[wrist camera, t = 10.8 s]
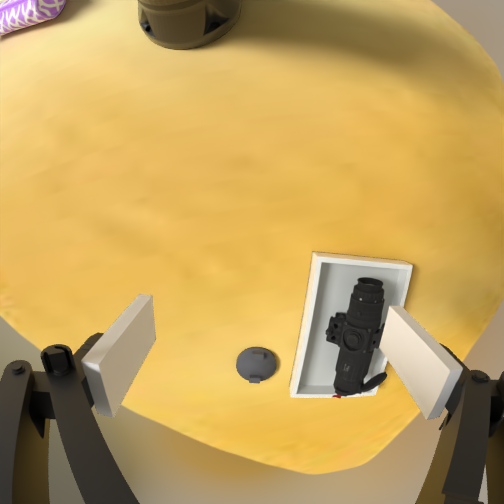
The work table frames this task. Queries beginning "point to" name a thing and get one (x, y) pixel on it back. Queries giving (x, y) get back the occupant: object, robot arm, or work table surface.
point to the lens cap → (256, 364)
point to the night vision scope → (358, 338)
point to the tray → (337, 300)
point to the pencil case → (27, 13)
